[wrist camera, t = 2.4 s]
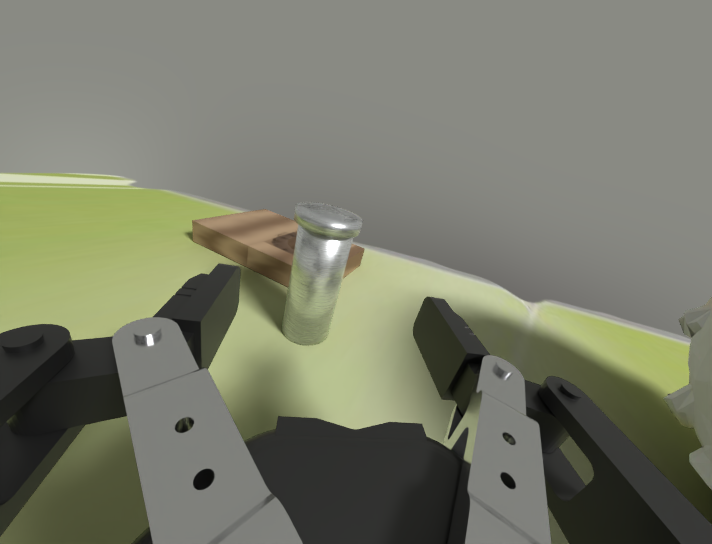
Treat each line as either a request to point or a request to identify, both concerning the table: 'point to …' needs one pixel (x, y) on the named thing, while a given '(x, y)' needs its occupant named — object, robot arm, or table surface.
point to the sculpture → (697, 388)
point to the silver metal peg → (317, 269)
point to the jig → (258, 242)
